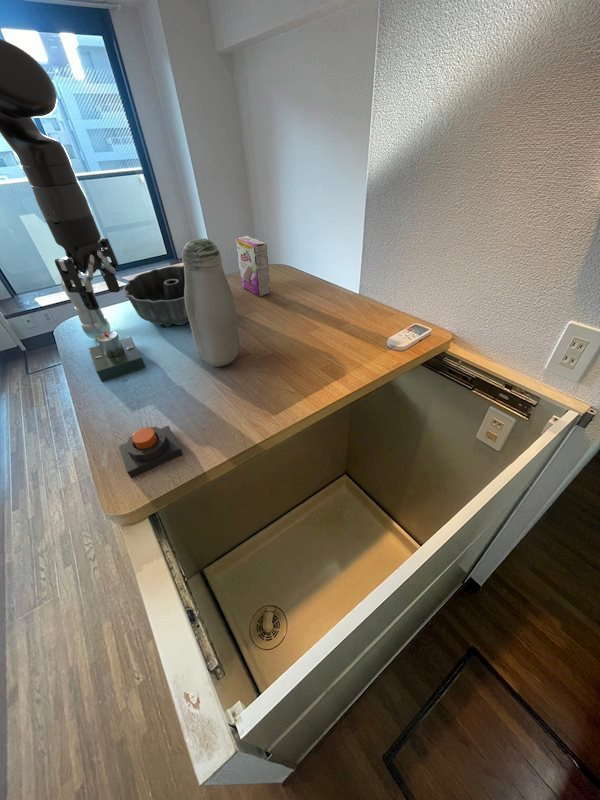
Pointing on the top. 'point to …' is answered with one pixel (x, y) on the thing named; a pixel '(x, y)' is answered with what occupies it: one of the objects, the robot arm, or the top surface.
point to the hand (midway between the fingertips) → (105, 300)
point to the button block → (150, 452)
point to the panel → (117, 361)
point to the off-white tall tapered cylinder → (210, 303)
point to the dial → (110, 344)
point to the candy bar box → (253, 265)
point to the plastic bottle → (88, 314)
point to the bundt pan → (159, 295)
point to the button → (144, 438)
